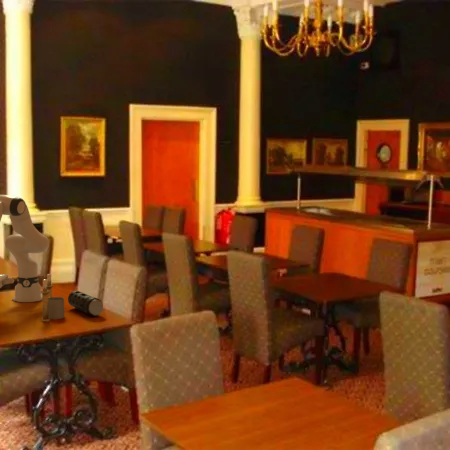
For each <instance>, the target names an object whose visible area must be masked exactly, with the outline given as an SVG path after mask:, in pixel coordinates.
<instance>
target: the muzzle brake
mask: <svg viewBox="0 0 450 450" xmlns="http://www.w3.org/2000/svg"><path fill="white" fill-rule="evenodd" d="M67 297H68V298H67V302H68V304H69V305H70V306H71V307H74V308H75V309H76V310H78V311H80V312H82V313H86V314H87V315H88V314H89V315H88V316H90V315H91V316H90V317H94V316H99V315H100V314H101V313H102V312H103V310H104V305H103V301H102V300H101V299H100V298H98V297H95V296H91V295H88V294H86V293H84V292H82V291H79V290H73V291H71V292H70V293H69V295H68V296H67Z"/></svg>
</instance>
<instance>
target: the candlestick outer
mask: <svg viewBox="0 0 450 450" xmlns="http://www.w3.org/2000/svg"><path fill="white" fill-rule="evenodd" d="M49 292H50V291H48V290H47V278H44V279H42V290H41V293H42V300H41V301H42V303H41V304H42V306H41V308H42V318H41V319H40V322H42V323H49V322H51V319H50V318H49V312H48V293H49Z"/></svg>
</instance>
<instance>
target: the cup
mask: <svg viewBox="0 0 450 450" xmlns="http://www.w3.org/2000/svg"><path fill="white" fill-rule="evenodd" d="M48 312H49V318H50V320H61V319H64V318H65V297H60V296H59V297H58V296H55V297H53V296H52V298H48Z"/></svg>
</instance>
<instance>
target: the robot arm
mask: <svg viewBox="0 0 450 450" xmlns="http://www.w3.org/2000/svg"><path fill="white" fill-rule="evenodd" d="M3 216H9V220H10V222H11V226H12V230H13V231H14V232H15V233H16V234H10V235H8V236H7V237H6V239H5V241H4V242H5V244H4V245H5V248H6V249H7V251H8V252H10V253H11V255H13V257H14V259H15V261H16V265H17V279H16V281H17V284H16V285H15V286H14V297H12V298H11V301H13V302H18V303H33V302H39V301H40V302H41V301H42V293H41V291H42V286H41V284H40V282H39V280H40V278H39V275H38V263H37V261H36V260H35V259H33V258H31V256H30V255H29V254H42V253H46V252H47V251H48V249H49V247H50V240H49V238H48V237H47V236H46V235H44V234H43V233H41V232H40V231H39V230H38V229H37V228H36V226H35V225H34V223H33V221H32V218H31V217H32V216H31V214H30V211H29V206H28V205H27V203H26V201H25V199H23V198H22V197H19V196H15V195H9V194H0V222H2V221H1V220H2V218H3ZM14 282H15V279H14V278H9V275H8V274H5V273H4V274H2V273H0V289H1V288H3V286H5V285H9V284H14Z"/></svg>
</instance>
